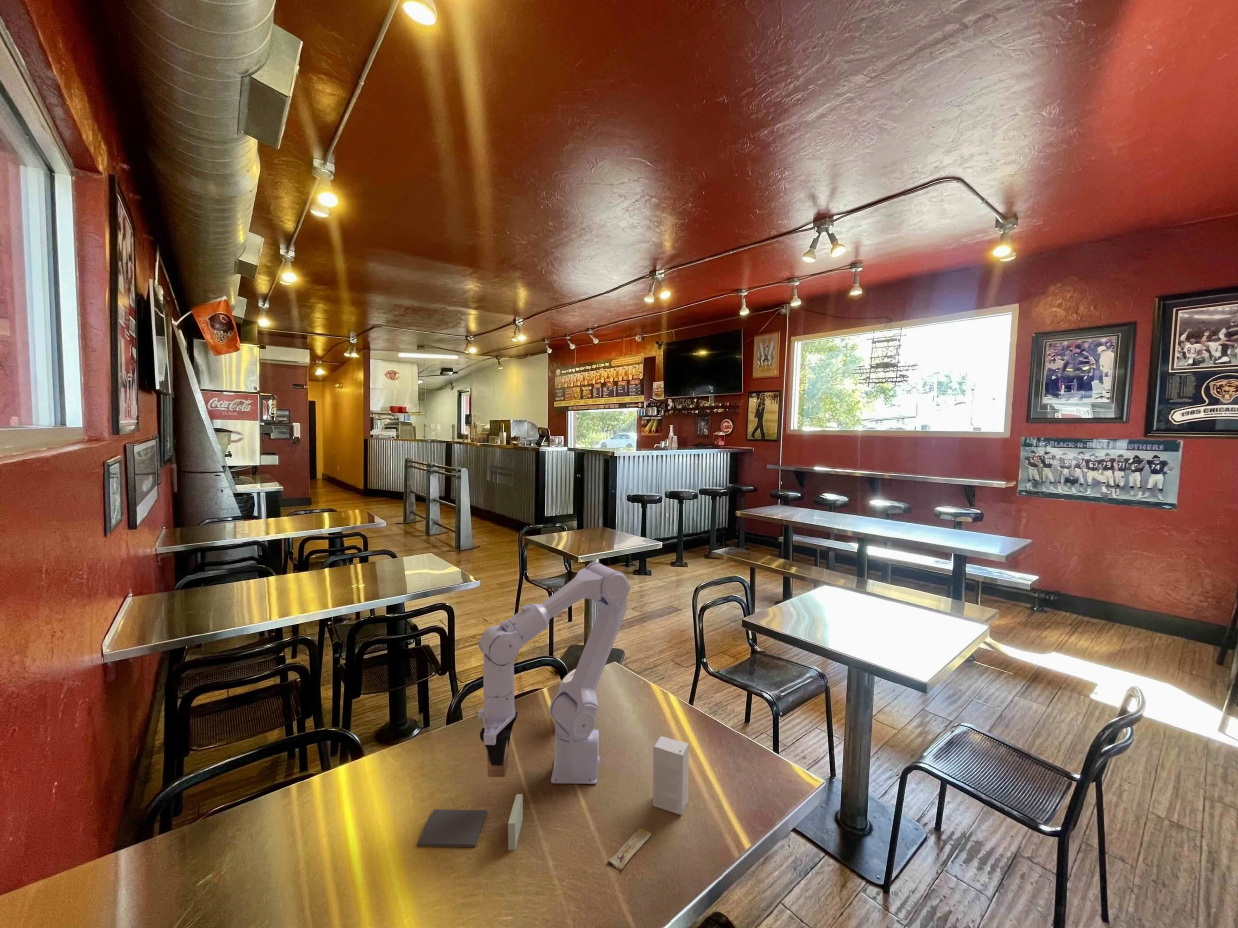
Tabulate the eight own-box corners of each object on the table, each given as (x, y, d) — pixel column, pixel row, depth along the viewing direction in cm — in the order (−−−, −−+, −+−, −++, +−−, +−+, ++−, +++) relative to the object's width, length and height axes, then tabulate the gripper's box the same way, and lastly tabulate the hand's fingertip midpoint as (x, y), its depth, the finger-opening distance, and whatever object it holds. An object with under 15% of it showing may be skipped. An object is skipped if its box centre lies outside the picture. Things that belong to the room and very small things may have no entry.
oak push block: (508, 765, 101) (507, 731, 101) (504, 776, 98) (503, 741, 98) (492, 765, 101) (491, 731, 101) (487, 776, 98) (487, 741, 98)
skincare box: (688, 801, 101) (690, 743, 100) (681, 816, 97) (683, 755, 96) (659, 792, 103) (660, 734, 103) (651, 806, 100) (652, 746, 99)
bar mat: (486, 812, 97) (486, 809, 97) (474, 846, 89) (474, 844, 89) (433, 811, 97) (433, 809, 97) (417, 845, 89) (417, 843, 89)
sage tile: (522, 819, 96) (522, 794, 95) (515, 850, 89) (515, 823, 88) (515, 819, 96) (515, 793, 95) (507, 850, 89) (507, 822, 88)
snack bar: (638, 826, 94) (651, 828, 92) (640, 835, 94) (653, 837, 92) (605, 860, 86) (619, 863, 85) (608, 870, 86) (621, 873, 84)
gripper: (488, 671, 106) (489, 734, 107) (466, 710, 91) (467, 783, 92) (522, 672, 106) (522, 735, 107) (505, 711, 91) (506, 783, 92)
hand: (499, 757), depth 100 cm, fingers closed on oak push block, 3 cm apart
